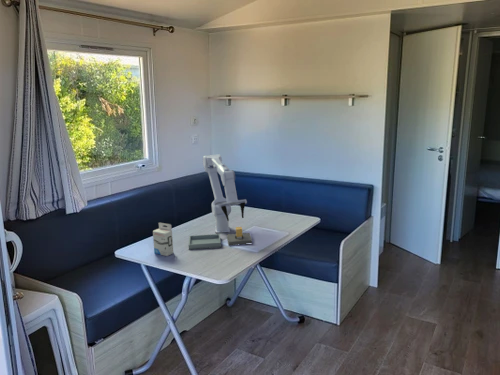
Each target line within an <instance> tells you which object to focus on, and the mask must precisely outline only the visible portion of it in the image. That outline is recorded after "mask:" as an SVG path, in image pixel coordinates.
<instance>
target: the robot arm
mask: <svg viewBox="0 0 500 375" xmlns="http://www.w3.org/2000/svg"><path fill="white" fill-rule="evenodd" d="M202 165H203V169H204V172H205V173H207V175H208V177H209V181H210V185H211V190H212V192H213V197H214V200H213V201H212V202H211V205H210V206H211V212H212V215H213V216H214V217H215V227H214V230H215V234H221V233H222V234H223V233H231V230H230V226H229V225H230V224H229V221H230V219H229V216H230V214H231V213H232V207H233V206H237V205H239V207H240V212H241V219H244V217H245V216H244V213H245V207H246V206H245V205H246V204H248V201H247V199H246V198H245V199H238V195H237V194H238V193H237V190H236V183H235V181H236V174H235V171H234V170H232V169H231V170H230V168H229V167H228V166H227V165H226V164H225V163H223V159H222V155H221V154H220V153H218V154H211V155H203V157H202ZM218 174H219V175H218ZM219 176H220V179H219ZM220 180H221V183H222V186H223V187H224V193H225V197H224V195H223V191H222V188H221V183H220Z"/></svg>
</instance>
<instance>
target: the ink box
mask: <svg viewBox="0 0 500 375" xmlns="http://www.w3.org/2000/svg"><path fill="white" fill-rule="evenodd" d="M172 229H173V228H172V224H171V223H164V222H158V228H156V229H154V230H152V239H153V252H154V254H155V255H160V256H165V257H169V256H171V255H172V254H174V241H173V230H172Z"/></svg>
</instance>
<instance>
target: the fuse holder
mask: <svg viewBox="0 0 500 375" xmlns="http://www.w3.org/2000/svg"><path fill="white" fill-rule="evenodd" d="M226 238H227V244H228V246H239V245H238V244H245V245H247V244H246V243H252V244H253V240H252V236H251V234H250V232H247V233H246V232H245V233H243V232H242V239H237V236H236V233H229V234H227V235H226Z"/></svg>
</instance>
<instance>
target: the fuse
mask: <svg viewBox="0 0 500 375" xmlns="http://www.w3.org/2000/svg"><path fill="white" fill-rule="evenodd" d="M242 233H243V228H242V226H236V227H235V234H236V236H237V239H242Z"/></svg>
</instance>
